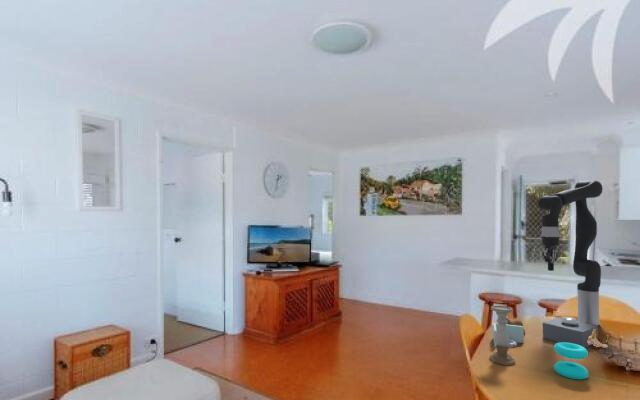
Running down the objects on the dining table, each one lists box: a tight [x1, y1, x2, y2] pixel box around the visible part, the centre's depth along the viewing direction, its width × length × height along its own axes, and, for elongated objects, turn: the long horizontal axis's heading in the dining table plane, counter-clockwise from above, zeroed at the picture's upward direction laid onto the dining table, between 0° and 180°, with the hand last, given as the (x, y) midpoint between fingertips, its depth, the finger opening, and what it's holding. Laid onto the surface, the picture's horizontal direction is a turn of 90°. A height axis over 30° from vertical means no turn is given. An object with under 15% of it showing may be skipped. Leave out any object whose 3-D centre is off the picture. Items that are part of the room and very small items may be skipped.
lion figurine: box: [506, 317, 526, 336], centre depth 174 cm, size 15×5×9 cm, turn 112°
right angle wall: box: [492, 322, 525, 349], centre depth 160 cm, size 12×12×8 cm
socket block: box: [542, 316, 599, 349], centre depth 167 cm, size 16×16×7 cm
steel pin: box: [560, 316, 579, 327], centre depth 167 cm, size 6×6×8 cm
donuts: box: [553, 342, 589, 380], centre depth 130 cm, size 10×10×10 cm
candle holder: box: [489, 305, 516, 366], centre depth 142 cm, size 9×9×20 cm
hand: (550, 270), depth 183 cm, fingers closed
